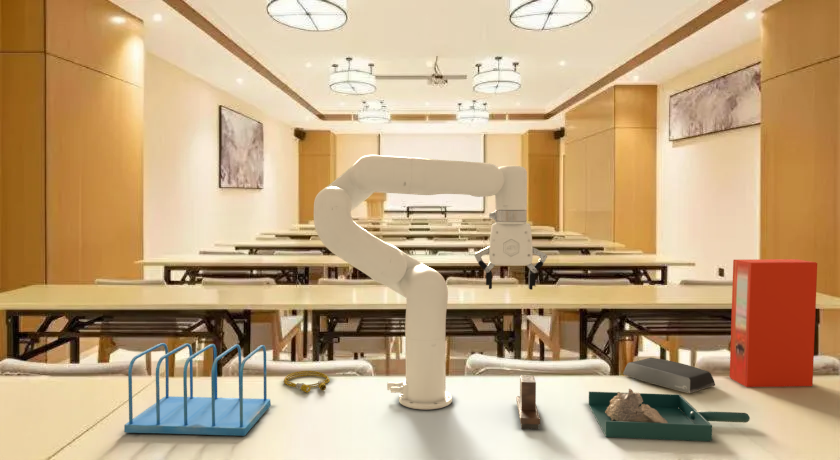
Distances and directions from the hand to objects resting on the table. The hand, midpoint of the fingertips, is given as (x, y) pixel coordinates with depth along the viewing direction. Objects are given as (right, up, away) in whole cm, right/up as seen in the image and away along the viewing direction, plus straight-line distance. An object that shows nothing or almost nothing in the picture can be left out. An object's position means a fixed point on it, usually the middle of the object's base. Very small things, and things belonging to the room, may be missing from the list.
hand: (510, 288), depth 141 cm
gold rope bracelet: (-51, -26, +11) cm, 58 cm away
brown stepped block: (+2, -27, -13) cm, 30 cm away
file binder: (+70, -26, +12) cm, 76 cm away
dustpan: (+32, -27, -16) cm, 45 cm away
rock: (+24, -27, -18) cm, 40 cm away
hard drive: (+43, -26, +13) cm, 52 cm away
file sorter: (-69, -27, -15) cm, 76 cm away
